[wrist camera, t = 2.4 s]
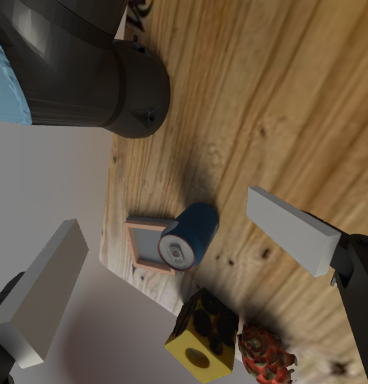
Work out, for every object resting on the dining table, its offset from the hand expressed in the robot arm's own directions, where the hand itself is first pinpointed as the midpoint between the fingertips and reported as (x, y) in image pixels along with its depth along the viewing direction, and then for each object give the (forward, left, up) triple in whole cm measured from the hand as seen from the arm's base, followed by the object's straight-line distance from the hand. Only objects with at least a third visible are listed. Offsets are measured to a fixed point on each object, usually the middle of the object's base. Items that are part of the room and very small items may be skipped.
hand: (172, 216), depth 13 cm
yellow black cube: (+33, -6, -19) cm, 38 cm away
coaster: (+16, -18, -18) cm, 30 cm away
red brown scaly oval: (+35, +6, -19) cm, 40 cm away
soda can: (+9, -5, -19) cm, 21 cm away
